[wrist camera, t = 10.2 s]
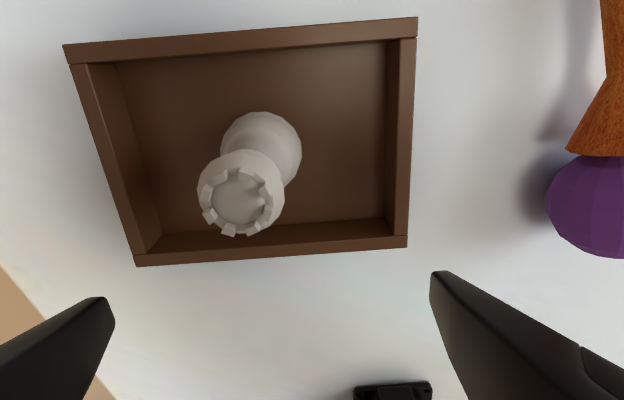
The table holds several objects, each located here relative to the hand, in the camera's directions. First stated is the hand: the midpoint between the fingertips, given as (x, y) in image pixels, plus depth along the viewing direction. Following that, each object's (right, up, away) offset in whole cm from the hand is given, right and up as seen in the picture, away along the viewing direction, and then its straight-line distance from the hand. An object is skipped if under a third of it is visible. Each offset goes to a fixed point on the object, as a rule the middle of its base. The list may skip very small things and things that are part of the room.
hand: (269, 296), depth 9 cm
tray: (-2, +6, +10) cm, 12 cm away
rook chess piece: (-2, +6, +10) cm, 11 cm away
